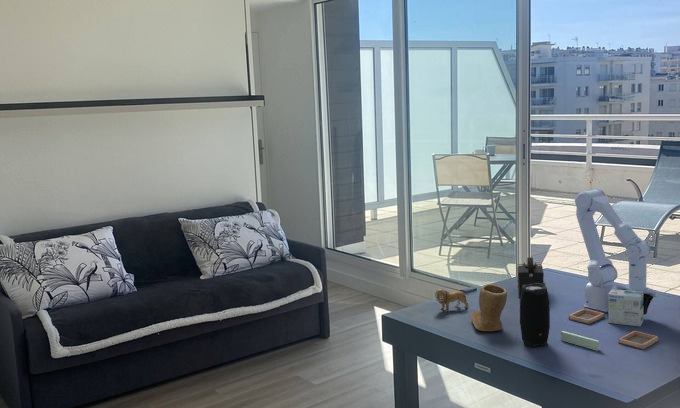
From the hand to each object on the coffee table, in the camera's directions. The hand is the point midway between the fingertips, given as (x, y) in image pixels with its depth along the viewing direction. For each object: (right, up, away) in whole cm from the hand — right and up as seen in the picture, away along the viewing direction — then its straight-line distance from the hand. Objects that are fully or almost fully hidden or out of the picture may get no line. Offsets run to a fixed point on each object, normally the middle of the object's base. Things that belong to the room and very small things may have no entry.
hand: (637, 312), depth 242 cm
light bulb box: (-6, -3, -4) cm, 8 cm away
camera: (-28, +2, +33) cm, 43 cm away
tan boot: (-52, -5, 0) cm, 53 cm away
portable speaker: (-41, -7, -18) cm, 46 cm away
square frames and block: (-17, -5, -13) cm, 22 cm away
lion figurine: (-62, -2, +20) cm, 65 cm away
